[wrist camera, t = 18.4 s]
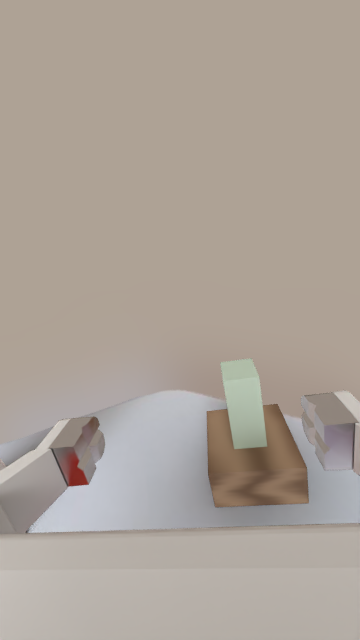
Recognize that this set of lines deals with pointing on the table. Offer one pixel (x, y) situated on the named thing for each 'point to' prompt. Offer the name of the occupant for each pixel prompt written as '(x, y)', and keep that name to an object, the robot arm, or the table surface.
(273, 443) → the walnut block
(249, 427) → the sage block
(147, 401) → the table surface
